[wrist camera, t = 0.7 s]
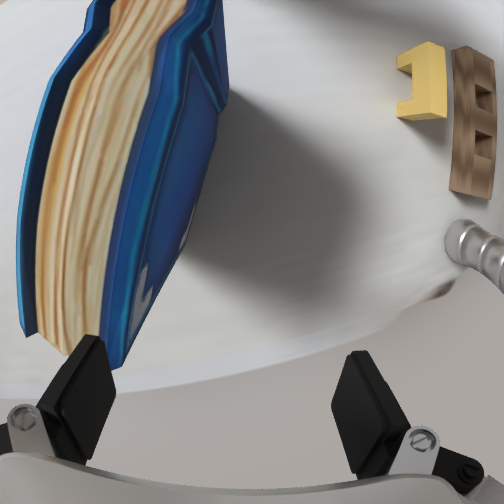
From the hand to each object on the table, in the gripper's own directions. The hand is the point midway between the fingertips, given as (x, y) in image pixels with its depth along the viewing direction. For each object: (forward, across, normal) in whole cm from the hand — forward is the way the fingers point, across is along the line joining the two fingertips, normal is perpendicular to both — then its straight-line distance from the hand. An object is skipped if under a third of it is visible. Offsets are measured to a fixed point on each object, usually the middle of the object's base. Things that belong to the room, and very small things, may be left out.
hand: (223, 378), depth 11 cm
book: (+28, +7, -7) cm, 30 cm away
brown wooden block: (+28, -33, -18) cm, 47 cm away
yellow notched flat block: (+28, -21, -20) cm, 40 cm away
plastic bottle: (+28, -34, 0) cm, 44 cm away
